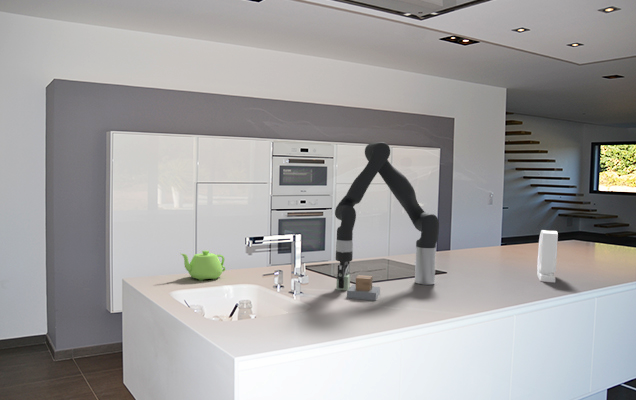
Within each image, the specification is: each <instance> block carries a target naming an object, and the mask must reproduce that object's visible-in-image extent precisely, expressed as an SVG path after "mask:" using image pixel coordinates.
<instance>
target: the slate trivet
mask: <svg viewBox="0 0 636 400" xmlns="http://www.w3.org/2000/svg"><path fill="white" fill-rule="evenodd" d="M380 295H381V286H375V285H374V286H373V285H372V289H371V290H370V291H364V290H356V284H352V285H350V288H349V289H348V290H346V299H356V300H366V301H377V299H378V298H379V296H380Z"/></svg>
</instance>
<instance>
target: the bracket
mask: <svg viewBox="0 0 636 400" xmlns="http://www.w3.org/2000/svg"><path fill="white" fill-rule="evenodd" d="M539 233H540V234H539V239H538V249H537V262H536V263H537V267H536V268H537V269H536V271H537V272H536V273H537V278H538V279H539V281H540V282H545V283H546V282H547V283H556V276H555V273H557V258H558V256H557V255H558V240H559V238H558V237H559V234H558V233H559V232H558V231H557V230H548V229H541V230H540V232H539Z"/></svg>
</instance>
